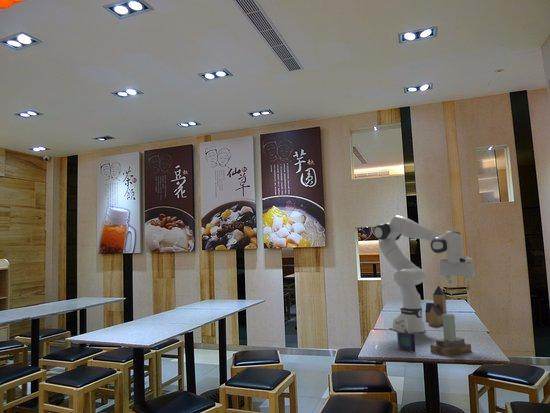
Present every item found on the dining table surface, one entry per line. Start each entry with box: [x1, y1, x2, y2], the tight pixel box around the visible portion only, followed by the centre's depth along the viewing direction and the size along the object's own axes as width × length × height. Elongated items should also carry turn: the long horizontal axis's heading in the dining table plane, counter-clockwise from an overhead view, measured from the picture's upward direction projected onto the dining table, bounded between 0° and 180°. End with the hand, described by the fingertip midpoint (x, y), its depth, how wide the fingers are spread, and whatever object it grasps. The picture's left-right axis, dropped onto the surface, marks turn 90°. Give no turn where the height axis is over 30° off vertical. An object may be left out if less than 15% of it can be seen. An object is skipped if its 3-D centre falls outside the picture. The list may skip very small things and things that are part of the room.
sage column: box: [442, 313, 457, 340], centre depth 206 cm, size 4×4×12 cm
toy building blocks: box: [424, 285, 448, 327], centre depth 280 cm, size 12×19×25 cm, turn 140°
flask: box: [396, 329, 416, 353], centre depth 211 cm, size 9×3×11 cm, turn 48°
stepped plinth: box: [430, 336, 472, 358], centre depth 205 cm, size 12×16×6 cm
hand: (457, 283), depth 230 cm, fingers open, 8 cm apart
